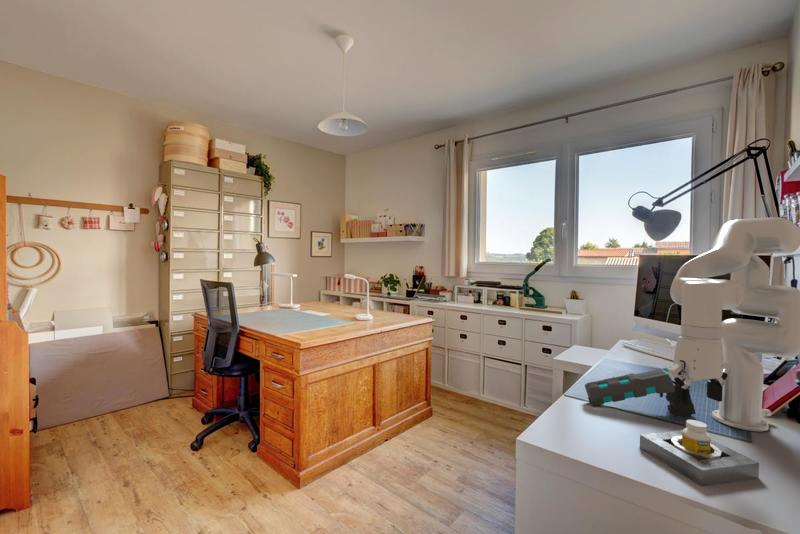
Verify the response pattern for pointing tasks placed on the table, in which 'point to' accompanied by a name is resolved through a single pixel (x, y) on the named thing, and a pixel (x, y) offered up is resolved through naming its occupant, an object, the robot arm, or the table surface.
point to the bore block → (699, 459)
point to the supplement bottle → (696, 437)
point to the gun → (638, 390)
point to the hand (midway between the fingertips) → (698, 401)
